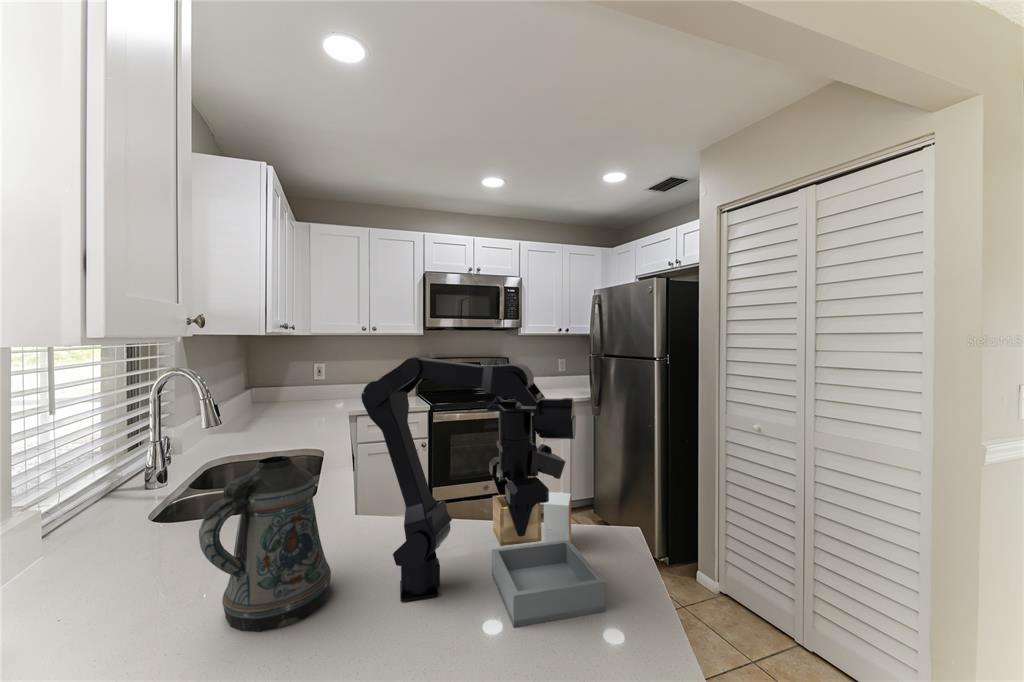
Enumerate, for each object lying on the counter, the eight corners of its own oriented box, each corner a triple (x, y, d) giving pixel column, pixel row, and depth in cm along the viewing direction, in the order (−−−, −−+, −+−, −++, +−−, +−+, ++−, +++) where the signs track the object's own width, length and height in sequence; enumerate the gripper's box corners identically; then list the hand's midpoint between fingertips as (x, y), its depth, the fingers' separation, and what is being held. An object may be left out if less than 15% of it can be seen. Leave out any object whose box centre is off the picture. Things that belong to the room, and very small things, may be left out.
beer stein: (345, 577, 83) (346, 447, 83) (291, 648, 63) (292, 478, 64) (261, 576, 83) (261, 446, 84) (181, 646, 64) (182, 477, 64)
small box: (569, 555, 92) (569, 505, 92) (543, 552, 93) (543, 503, 93) (571, 538, 100) (571, 492, 100) (547, 536, 101) (547, 491, 101)
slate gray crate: (513, 627, 68) (513, 595, 68) (491, 575, 84) (491, 549, 84) (605, 611, 72) (605, 581, 72) (568, 564, 88) (568, 539, 88)
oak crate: (500, 546, 70) (499, 509, 70) (493, 529, 77) (492, 495, 77) (541, 541, 72) (541, 505, 72) (531, 525, 78) (530, 492, 78)
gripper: (579, 445, 67) (581, 546, 67) (543, 424, 85) (544, 504, 85) (510, 450, 65) (511, 555, 64) (488, 428, 83) (489, 509, 83)
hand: (516, 527), depth 74 cm, fingers closed on oak crate, 6 cm apart
